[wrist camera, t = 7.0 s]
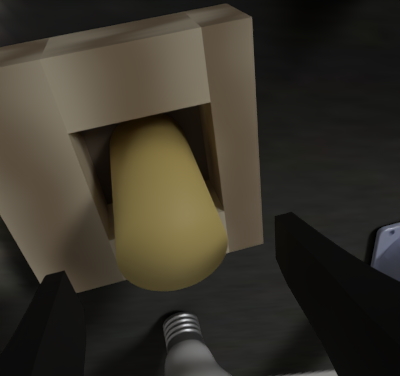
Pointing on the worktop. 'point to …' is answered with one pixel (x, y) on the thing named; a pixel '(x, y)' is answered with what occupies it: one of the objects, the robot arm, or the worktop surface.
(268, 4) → the worktop surface
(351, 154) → the worktop surface
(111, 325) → the worktop surface
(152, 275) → the dowel
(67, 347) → the robot arm
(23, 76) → the socket block
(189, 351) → the lightbulb
